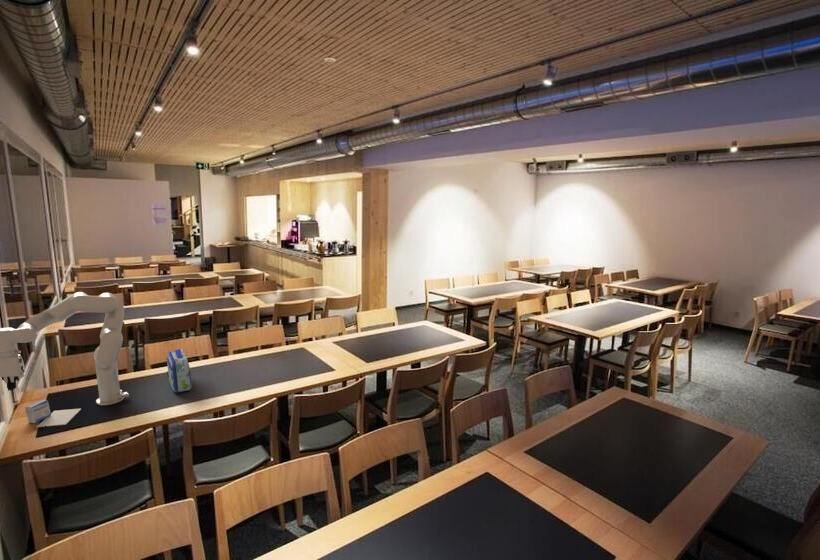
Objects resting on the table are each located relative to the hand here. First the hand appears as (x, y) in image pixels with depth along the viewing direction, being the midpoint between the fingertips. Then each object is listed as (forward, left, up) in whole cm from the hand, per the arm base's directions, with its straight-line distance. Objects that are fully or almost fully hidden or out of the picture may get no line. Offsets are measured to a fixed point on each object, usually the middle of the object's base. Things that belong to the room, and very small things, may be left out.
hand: (12, 389), depth 209 cm
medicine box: (-9, 0, -17) cm, 20 cm away
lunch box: (-66, -28, -18) cm, 74 cm away
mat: (-18, 0, -17) cm, 25 cm away
